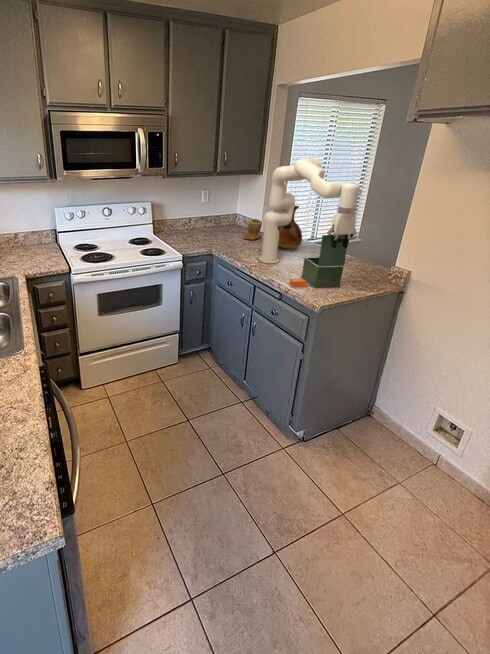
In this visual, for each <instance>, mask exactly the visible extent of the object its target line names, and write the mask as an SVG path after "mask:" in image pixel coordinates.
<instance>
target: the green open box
mask: <svg viewBox="0 0 490 654" xmlns="http://www.w3.org/2000/svg"><path fill="white" fill-rule="evenodd" d="M319 258H320V256H308V257H307V256H305V257H304V258H303V265H302V272H301V278H303V279H304V280H306V281H307V283H308V284H309V285H311V287H313V288H314V289H331V288H340V287H341V282H342V276H343V271H344V266H345V265H344V266H324V267H319Z"/></svg>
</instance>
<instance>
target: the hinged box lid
mask: <svg viewBox="0 0 490 654" xmlns="http://www.w3.org/2000/svg"><path fill="white" fill-rule="evenodd" d="M344 238H345V235H339V236H338V238H337V246H336V248H333V247H331V243H332V239H331V237H330V236H329V235H328V234H322V235H321V242H320V243H321V244H320V249H319V250H320V252H319V257H320V258H319V267H324V266H345V263H346V258H347V257H346V256H347V250H348V247H347V248H345V247H343V246H342V245H343V242H345V239H344Z"/></svg>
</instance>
